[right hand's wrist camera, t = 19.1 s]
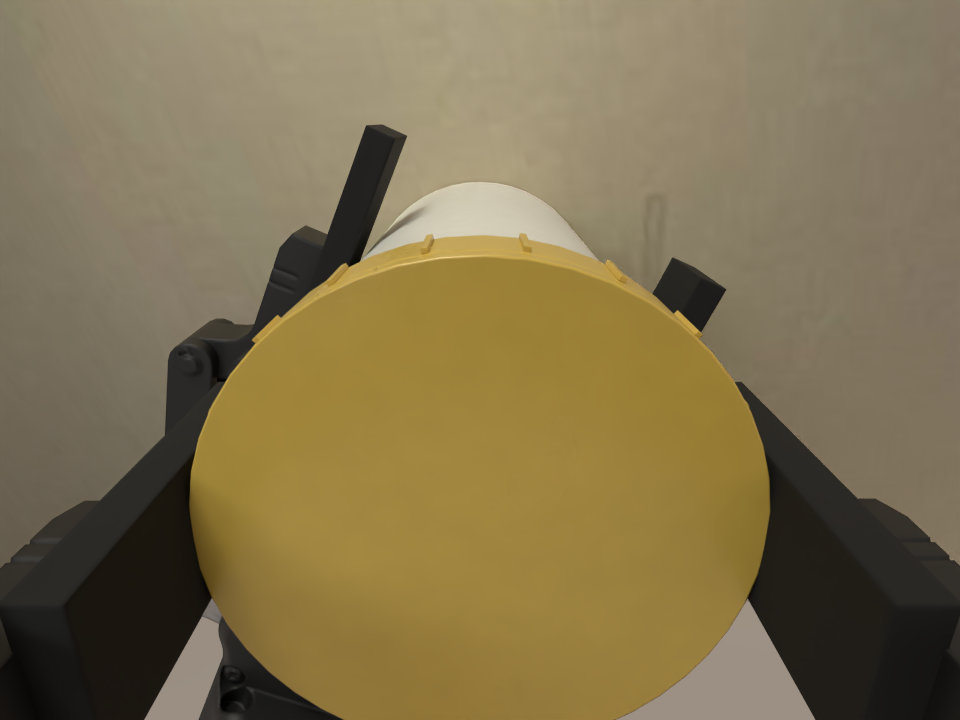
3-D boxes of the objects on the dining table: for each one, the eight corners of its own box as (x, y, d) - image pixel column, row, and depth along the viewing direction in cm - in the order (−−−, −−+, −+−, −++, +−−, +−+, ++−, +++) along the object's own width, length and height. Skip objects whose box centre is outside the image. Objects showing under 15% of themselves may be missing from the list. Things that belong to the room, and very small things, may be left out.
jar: (374, 395, 26) (257, 702, 13) (363, 180, 23) (194, 269, 10) (583, 398, 26) (696, 705, 13) (598, 182, 23) (770, 275, 10)
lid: (823, 530, 12) (873, 589, 11) (436, 743, 14) (431, 819, 13) (544, 106, 10) (555, 103, 8) (116, 440, 12) (59, 489, 10)
